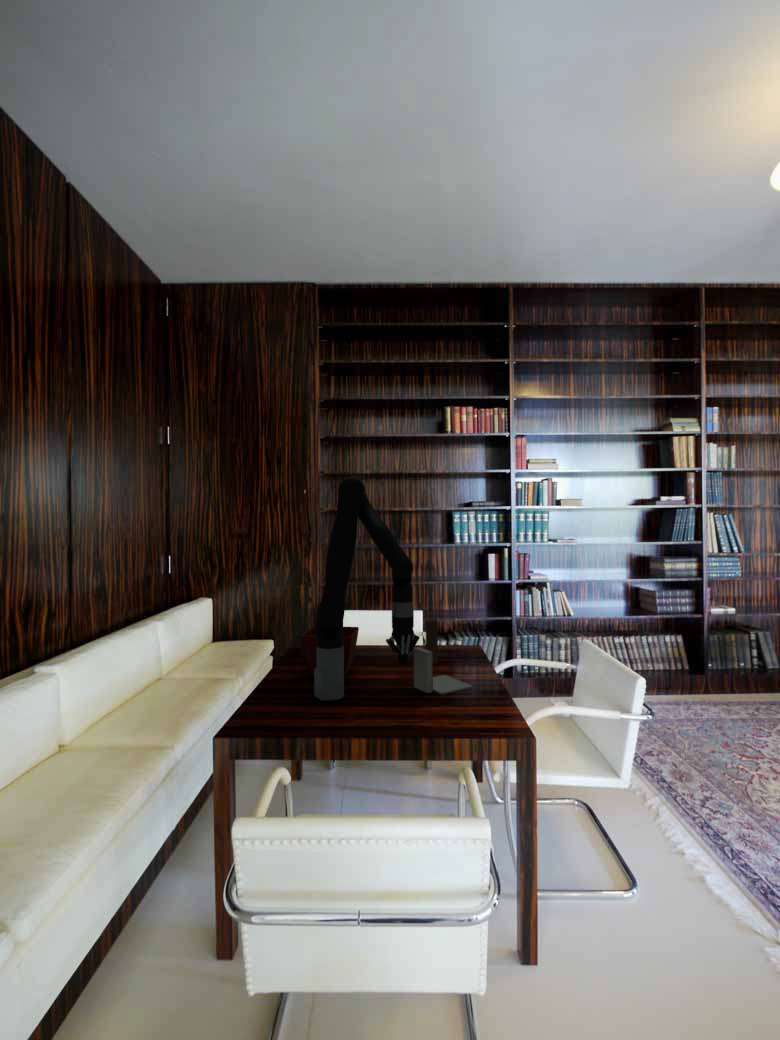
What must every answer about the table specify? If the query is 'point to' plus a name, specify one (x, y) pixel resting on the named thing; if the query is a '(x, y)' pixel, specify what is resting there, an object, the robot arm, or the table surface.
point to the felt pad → (448, 684)
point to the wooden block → (432, 638)
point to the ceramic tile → (423, 669)
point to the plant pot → (311, 648)
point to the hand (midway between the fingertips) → (403, 664)
